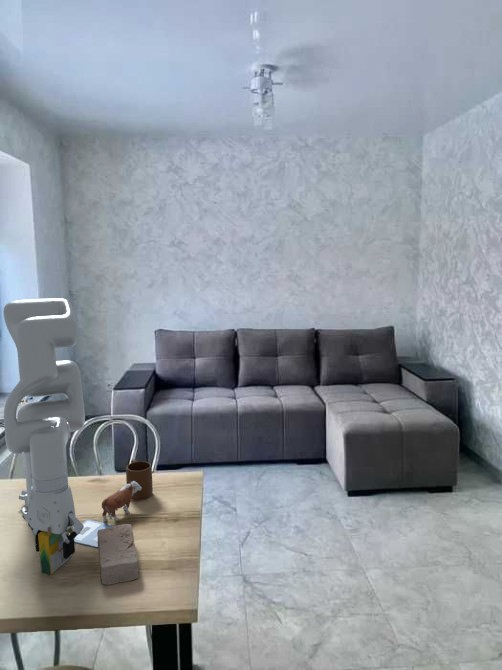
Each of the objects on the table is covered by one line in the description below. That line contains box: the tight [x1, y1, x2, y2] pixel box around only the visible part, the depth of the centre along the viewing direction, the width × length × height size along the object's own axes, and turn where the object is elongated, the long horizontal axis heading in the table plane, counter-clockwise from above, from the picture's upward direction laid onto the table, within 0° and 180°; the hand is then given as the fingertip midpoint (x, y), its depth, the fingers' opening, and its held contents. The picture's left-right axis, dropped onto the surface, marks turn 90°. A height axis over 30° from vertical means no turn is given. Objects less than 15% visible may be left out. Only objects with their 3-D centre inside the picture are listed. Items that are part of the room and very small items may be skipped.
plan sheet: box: [69, 519, 116, 549], centre depth 132 cm, size 14×10×1 cm
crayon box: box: [38, 527, 72, 575], centre depth 119 cm, size 7×3×12 cm, turn 162°
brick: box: [97, 523, 140, 586], centre depth 120 cm, size 17×8×5 cm, turn 19°
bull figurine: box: [101, 481, 142, 523], centre depth 142 cm, size 4×13×8 cm, turn 146°
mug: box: [125, 458, 154, 502], centre depth 155 cm, size 12×8×9 cm, turn 26°
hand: (55, 551), depth 119 cm, fingers open, 7 cm apart
